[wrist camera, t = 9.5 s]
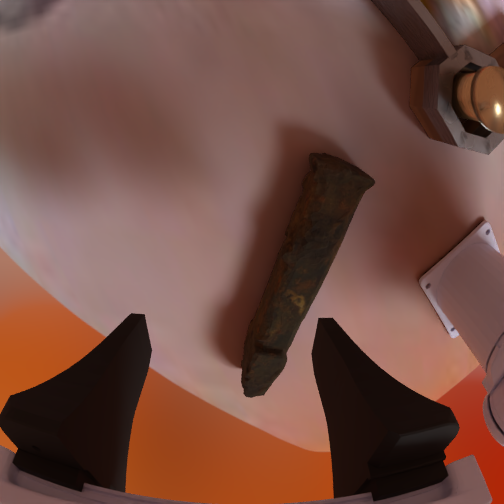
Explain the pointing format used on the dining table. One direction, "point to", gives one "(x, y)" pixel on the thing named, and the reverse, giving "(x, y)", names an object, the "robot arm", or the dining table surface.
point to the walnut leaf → (417, 87)
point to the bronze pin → (480, 97)
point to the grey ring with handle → (440, 71)
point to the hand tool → (301, 266)
